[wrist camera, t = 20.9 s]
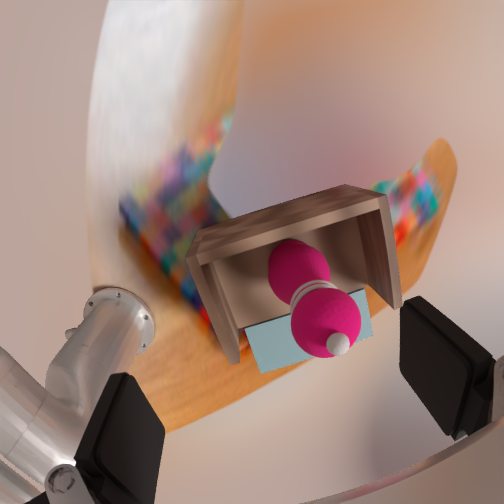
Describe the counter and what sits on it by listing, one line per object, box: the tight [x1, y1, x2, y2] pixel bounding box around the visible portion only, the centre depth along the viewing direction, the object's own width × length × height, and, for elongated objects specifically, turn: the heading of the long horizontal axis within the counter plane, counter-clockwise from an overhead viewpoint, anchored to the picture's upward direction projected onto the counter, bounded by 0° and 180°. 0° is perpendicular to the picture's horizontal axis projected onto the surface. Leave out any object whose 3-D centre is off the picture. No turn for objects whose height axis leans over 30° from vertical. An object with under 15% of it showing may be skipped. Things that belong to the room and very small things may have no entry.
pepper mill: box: [268, 240, 361, 358], centre depth 30 cm, size 7×7×20 cm
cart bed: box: [185, 184, 402, 365], centre depth 39 cm, size 22×14×13 cm, turn 107°
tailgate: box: [244, 288, 373, 373], centre depth 44 cm, size 18×2×8 cm
